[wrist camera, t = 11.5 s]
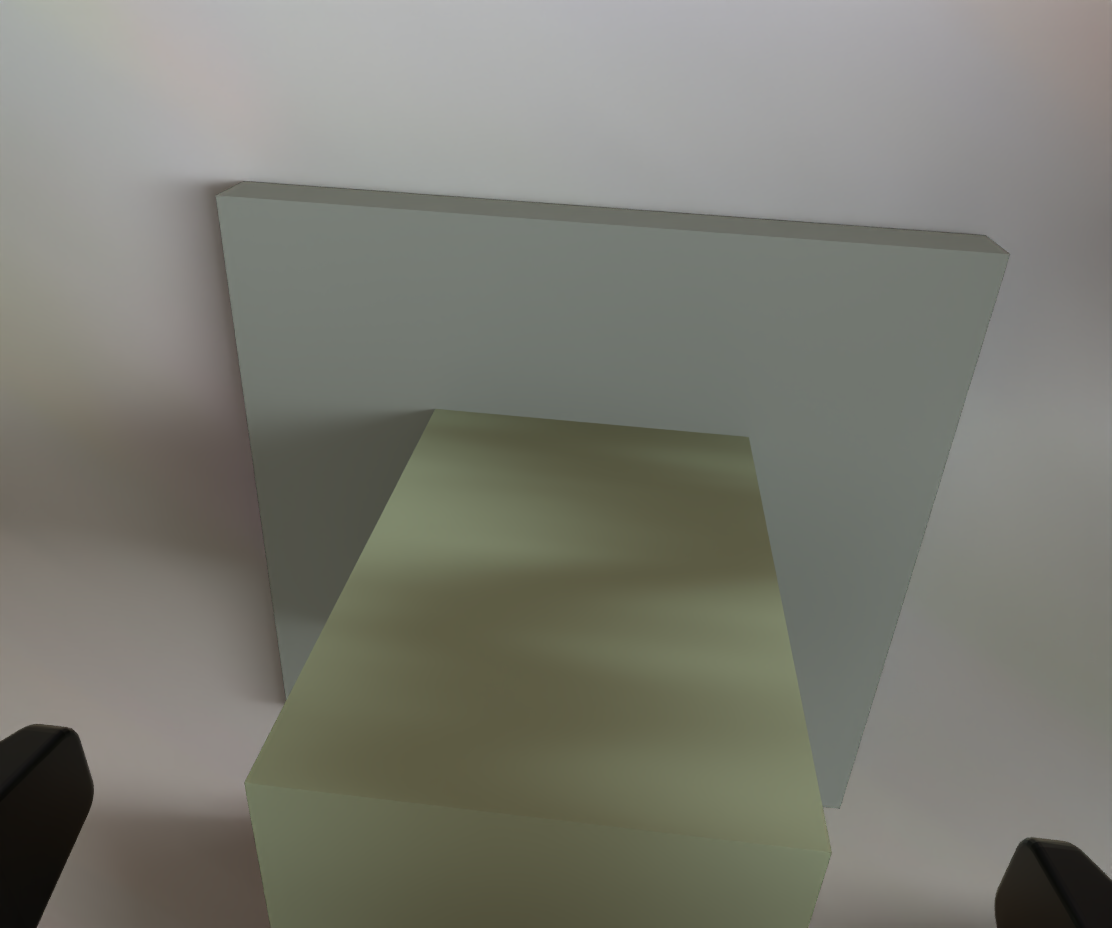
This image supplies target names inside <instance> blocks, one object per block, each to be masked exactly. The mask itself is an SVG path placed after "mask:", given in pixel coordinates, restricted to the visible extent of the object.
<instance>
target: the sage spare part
mask: <svg viewBox="0 0 1112 928" xmlns="http://www.w3.org/2000/svg"><path fill="white" fill-rule="evenodd" d="M244 784H245V790H246V795H247V801H248V806H249V812H250V817H251V823H252V828H253V834H254V839H255V845H256V850H257V856H258V861H259V867H260V872H261V878H262V883H263V889H264V894H265V900H266V906H267V911H268V917H269V922H270V928H808V927H809V923H810V920H811V917H812V914H813V911H814V907H815V904H816V901H817V898H818V895H819V891H820V888H821V885H822V882H823V879H824V876H825V872H826V869H827V866H828V863H829V860H830V856H831V853H832V851H831V846H830V841H829V836H828V831H827V826H826V821H825V816H824V811H823V806H822V801H821V796H820V791H819V786H818V781H817V776H816V771H815V766H814V761H813V756H812V751H811V746H810V741H809V736H808V731H807V726H806V721H805V716H804V711H803V706H802V701H801V696H800V691H799V686H798V681H797V676H796V671H795V666H794V661H793V656H792V651H791V646H790V641H789V636H788V631H787V626H786V621H785V616H784V611H783V606H782V601H781V596H780V591H779V586H778V581H777V576H776V571H775V566H774V561H773V556H772V551H771V546H770V541H769V536H768V531H767V525H766V520H765V515H764V510H763V505H762V500H761V495H760V490H759V485H758V480H757V475H756V470H755V465H754V460H753V455H752V450H751V445H750V440H749V437H744V436H733V435H722V434H710V433H699V432H688V431H677V430H666V429H655V428H644V427H632V426H621V425H610V424H599V423H588V422H577V421H566V420H555V419H543V418H532V417H521V416H510V415H499V414H488V413H477V412H465V411H454V410H443V409H435V410H434V412H433V414H432V416H431V418H430V420H429V422H428V424H427V426H426V428H425V430H424V432H423V434H422V436H421V438H420V440H419V442H418V444H417V446H416V448H415V450H414V451H413V453H412V455H411V457H410V459H409V461H408V463H407V465H406V467H405V469H404V471H403V473H402V475H401V477H400V479H399V481H398V483H397V485H396V487H395V489H394V491H393V493H392V495H391V497H390V498H389V500H388V502H387V504H386V506H385V508H384V510H383V512H382V514H381V516H380V518H379V520H378V522H377V524H376V526H375V528H374V530H373V532H372V534H371V536H370V538H369V540H368V542H367V544H366V545H365V547H364V549H363V551H362V553H361V555H360V557H359V559H358V561H357V563H356V565H355V567H354V569H353V571H352V573H351V575H350V577H349V579H348V581H347V583H346V585H345V587H344V589H343V591H342V592H341V594H340V596H339V598H338V600H337V602H336V604H335V606H334V608H333V610H332V612H331V614H330V616H329V618H328V620H327V622H326V624H325V626H324V628H323V630H322V632H321V634H320V636H319V638H318V639H317V641H316V643H315V645H314V647H313V649H312V651H311V653H310V655H309V657H308V659H307V661H306V663H305V665H304V667H303V669H302V671H301V673H300V675H299V677H298V679H297V681H296V683H295V685H294V686H293V688H292V690H291V692H290V694H289V696H288V698H287V700H286V702H285V704H284V706H283V708H282V710H281V712H280V714H279V716H278V718H277V720H276V722H275V724H274V726H273V728H272V730H271V732H270V733H269V735H268V737H267V739H266V741H265V743H264V745H263V747H262V749H261V751H260V753H259V755H258V757H257V759H256V761H255V763H254V765H253V767H252V769H251V771H250V773H249V775H248V777H247V779H246V780H245V782H244Z"/></svg>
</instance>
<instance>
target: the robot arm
mask: <svg viewBox="0 0 1112 928" xmlns="http://www.w3.org/2000/svg"><path fill="white" fill-rule="evenodd" d="M93 794H94V785H93V780H92V777H91V774H90V770H89V767H88V764H87V760H86V757H85V754H84V751H83V747H82V744H81V741H80V738H79V736H78V734H77V733H76V732H75V731H74V730H73V729H72V728H68V727H62V726H53V725H44V724H33V725H29V726H26V727H24V728H22V729H20V730H18V731H17V732H15V733H14V734H12V735H10V736H9V737H7V738H5V739H4V740H2V741H0V928H37V926H38V924H39V921H40V919H41V917H42V915H43V912H44V910H45V908H46V906H47V904H48V901H49V899H50V897H51V895H52V893H53V890H54V888H55V886H56V884H57V881H58V879H59V877H60V875H61V873H62V870H63V868H64V866H65V864H66V862H67V859H68V857H69V855H70V853H71V850H72V848H73V846H74V844H75V842H76V839H77V837H78V835H79V833H80V831H81V828H82V826H83V824H84V822H85V819H86V817H87V815H88V813H89V810H90V808H91V804H92V801H93ZM995 919H996V924H997V928H1112V880H1111V879H1110V878H1109V877H1108V876H1107V875H1106V874H1105V873H1104V872H1103V871H1102V870H1101V869H1100V868H1099V867H1098V866H1097V865H1096V864H1095V863H1094V862H1093V861H1092V860H1091V859H1090V858H1089V857H1088V856H1087V855H1086V854H1085V853H1084V852H1083V851H1082V850H1081V849H1079V848H1078V847H1076V846H1075V845H1073V844H1071V843H1069V842H1066V841H1060V840H1051V839H1042V838H1034V837H1030V838H1026V839H1024V840H1023V841H1021V842H1020V843H1019V845H1018V846H1017V848H1016V851H1015V853H1014V855H1013V857H1012V859H1011V861H1010V863H1009V866H1008V868H1007V870H1006V872H1005V874H1004V876H1003V878H1002V880H1001V883H1000V885H999V887H998V889H997V892H996V897H995Z"/></svg>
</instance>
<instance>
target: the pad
mask: <svg viewBox="0 0 1112 928" xmlns="http://www.w3.org/2000/svg"><path fill="white" fill-rule="evenodd" d="M216 202H217V209H218V216H219V223H220V231H221V238H222V245H223V252H224V259H225V266H226V274H227V281H228V288H229V295H230V302H231V309H232V316H233V324H234V331H235V338H236V345H237V352H238V359H239V367H240V374H241V381H242V388H243V395H244V402H245V410H246V417H247V424H248V431H249V438H250V445H251V453H252V460H253V467H254V474H255V481H256V488H257V496H258V503H259V510H260V517H261V524H262V531H263V539H264V546H265V553H266V560H267V567H268V574H269V582H270V589H271V596H272V603H273V610H274V617H275V625H276V632H277V639H278V646H279V653H280V660H281V668H282V675H283V682H284V689H285V696H286V700H287V698H288V696H289V694H290V692H291V690H292V688H293V686H294V685H295V683H296V681H297V679H298V677H299V675H300V673H301V671H302V669H303V667H304V665H305V663H306V661H307V659H308V657H309V655H310V653H311V651H312V649H313V647H314V645H315V643H316V641H317V639H318V638H319V636H320V634H321V632H322V630H323V628H324V626H325V624H326V622H327V620H328V618H329V616H330V614H331V612H332V610H333V608H334V606H335V604H336V602H337V600H338V598H339V596H340V594H341V592H342V591H343V589H344V587H345V585H346V583H347V581H348V579H349V577H350V575H351V573H352V571H353V569H354V567H355V565H356V563H357V561H358V559H359V557H360V555H361V553H362V551H363V549H364V547H365V545H366V544H367V542H368V540H369V538H370V536H371V534H372V532H373V530H374V528H375V526H376V524H377V522H378V520H379V518H380V516H381V514H382V512H383V510H384V508H385V506H386V504H387V502H388V500H389V498H390V497H391V495H392V493H393V491H394V489H395V487H396V485H397V483H398V481H399V479H400V477H401V475H402V473H403V471H404V469H405V467H406V465H407V463H408V461H409V459H410V457H411V455H412V453H413V451H414V450H415V448H416V446H417V444H418V442H419V440H420V438H421V436H422V434H423V432H424V430H425V428H426V426H427V424H428V422H429V420H430V418H431V416H432V414H433V412H434V410H435V409H443V410H454V411H465V412H477V413H488V414H499V415H510V416H521V417H532V418H543V419H555V420H566V421H577V422H588V423H599V424H610V425H621V426H632V427H644V428H655V429H666V430H677V431H688V432H699V433H710V434H722V435H733V436H744V437H749V440H750V445H751V450H752V455H753V460H754V465H755V470H756V475H757V480H758V485H759V490H760V495H761V500H762V505H763V510H764V515H765V520H766V525H767V531H768V536H769V541H770V546H771V551H772V556H773V561H774V566H775V571H776V576H777V581H778V586H779V591H780V596H781V601H782V606H783V611H784V616H785V621H786V626H787V631H788V636H789V641H790V646H791V651H792V656H793V661H794V666H795V671H796V676H797V681H798V686H799V691H800V696H801V701H802V706H803V711H804V716H805V721H806V726H807V731H808V736H809V741H810V746H811V751H812V756H813V761H814V766H815V771H816V776H817V781H818V786H819V791H820V796H821V801H822V806H823V807H829V808H838V809H840V806H841V803H842V800H843V797H844V793H845V790H846V787H847V784H848V780H849V777H850V774H851V771H852V767H853V764H854V761H855V758H856V754H857V751H858V748H859V744H860V741H861V738H862V735H863V731H864V728H865V725H866V722H867V718H868V715H869V712H870V709H871V705H872V702H873V699H874V696H875V692H876V689H877V686H878V683H879V679H880V676H881V673H882V670H883V666H884V663H885V660H886V657H887V653H888V650H889V647H890V644H891V640H892V637H893V634H894V631H895V627H896V624H897V621H898V617H899V614H900V611H901V608H902V604H903V601H904V598H905V595H906V591H907V588H908V585H909V582H910V578H911V575H912V572H913V569H914V565H915V562H916V559H917V556H918V552H919V549H920V546H921V543H922V539H923V536H924V533H925V530H926V526H927V523H928V520H929V517H930V513H931V510H932V507H933V504H934V500H935V497H936V494H937V490H938V487H939V484H940V481H941V477H942V474H943V471H944V468H945V464H946V461H947V458H948V455H949V451H950V448H951V445H952V442H953V438H954V435H955V432H956V429H957V425H958V422H959V419H960V416H961V412H962V409H963V406H964V403H965V399H966V396H967V393H968V390H969V386H970V383H971V380H972V377H973V373H974V370H975V367H976V363H977V360H978V357H979V354H980V350H981V347H982V344H983V341H984V337H985V334H986V331H987V328H988V324H989V321H990V318H991V315H992V311H993V308H994V305H995V302H996V298H997V295H998V292H999V289H1000V285H1001V282H1002V279H1003V276H1004V272H1005V269H1006V266H1007V263H1008V259H1009V256H1010V254H1009V253H1008V252H1006V251H1005V250H1004V249H1003V248H1001V247H1000V246H999V245H998V244H996V243H995V242H994V241H993V240H991V239H990V238H989V237H987V236H986V235H973V234H959V233H945V232H931V231H918V230H904V229H890V228H876V227H863V226H849V225H835V224H822V223H808V222H794V221H780V220H767V219H753V218H739V217H726V216H712V215H698V214H684V213H671V212H657V211H643V210H630V209H616V208H602V207H588V206H575V205H561V204H547V203H533V202H520V201H506V200H492V199H479V198H465V197H451V196H437V195H424V194H410V193H396V192H383V191H369V190H355V189H341V188H328V187H314V186H300V185H286V184H273V183H259V182H245V181H244V182H242V183H240V184H238V185H236V186H234V187H232V188H230V189H228V190H226V191H224V192H222V193H220V194H218V195H216Z"/></svg>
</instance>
